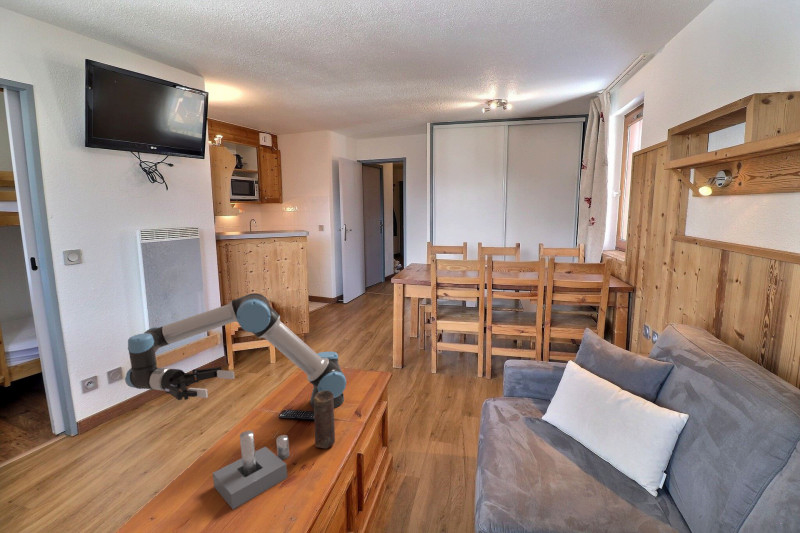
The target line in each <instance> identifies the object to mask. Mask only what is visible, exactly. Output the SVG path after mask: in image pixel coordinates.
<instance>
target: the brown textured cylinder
mask: <svg viewBox="0 0 800 533" xmlns="http://www.w3.org/2000/svg"><path fill="white" fill-rule="evenodd" d="M313 414H314V417H313V418H314V421H313V422H314V445H315V447H317V448H320V449H321V448H322V449H328V448H330V447H331V446H333V445H334V444H335V442H336V430H335V408H334V401H333V393H332V392H330V391H320V392H318V393H317V394H316V395H315V397H314V408H313Z"/></svg>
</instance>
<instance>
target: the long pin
mask: <svg viewBox="0 0 800 533" xmlns="http://www.w3.org/2000/svg"><path fill="white" fill-rule="evenodd" d="M239 442H240V451H241V453H240V454H241V458H242V464H243V475H244V477H247V476H249V475H251V474H253V473H254V472H256V471H257V469H256V458H255V451H256V450H255V449H256V448H255V447H256V446H255V437H254V432H253V431H252V430H245V431H243V432H241V433H240V434H239Z"/></svg>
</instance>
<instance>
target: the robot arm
mask: <svg viewBox="0 0 800 533" xmlns="http://www.w3.org/2000/svg"><path fill="white" fill-rule="evenodd" d="M236 322H237V323H238V325H239V327H240V328H241V329H243V330H244V331H245V332H248V333H252V334H253V335H254V336H255V337H256V338H259V339H261V338H264V339H265V340H267V342H269V343H270V344H271V345H272V346H273V347H275V348H276V349H277V350H278V351H279V352H280V353H281V354H282V355H284V357H286V358H287V359H288V360H290V361H291V362H292V363H293V364H294V365H295V366H296V367H298V368H299V369H300V370H301V371H302V372H304V374H306V376H307V377H306V378H307V379H306V380H307V381H308V382H309V383H310V384H311V385H313V387H312V388H313V389H312V392H311V396H310V405H311V407H312V408H313V409H314V397H315V395H316V394H317V393H318V392H320V391H330V392H332V393H333V401H334V409H335V408H337V407H340V406H341V405H342V404H343V403H344V401H345V395H344V391H345V389H346V386H347V378H346V376H345V374H344V373H343V370H342V368H341V366H340V365H339V354H338V353H337V352H335V351H321V352H318V353H317V352H316V351H314V350H313V348H311V347H310V346H309V345H308V344H306V342H305V341H303V339H301V338H300V337H299V336H298V335H297V334H296V333H294V332H293V331H292V330H291V329H290V328H289V327H287V325H286V324H284V323H283V322H282V321H281V315H280V314H279V313H278V312H277V311H276V310H275V309H274V308H273V307H271V305H270V302H269V299H267V297H266V296H265V295H263V294H260V293H256V292H255V293H254V292H253V293H248V294H246V295H243V296H240V297H238V298H235V299H232V300H230V302H229V303H228V304H226V305H223V306H220V307H216V308H214V309H210V310H207V311H205V312H204V311H203V312H202V313H199V314H196V315H192V316H188V317H186V318H183V319H181V320H177V321H174V322H172V323H169V324H166V325H163V326H159V327H156V326H155V327H154V326H153V327H152V328H149V329H147V330H146V331H145V332H143V333H138V334H135V335H133V336H132V335H131V336H130V337H129V338H128V339H127V350H128V356H129V361H130V366H131V367H130V368H129V369H128V371H127V372H126V374H125V378H124V379H125V380H124V381H125V383H126V385H127V386H128V387H130V388H133V389H134V388H135V389H137V390H143V389H144V390H154V391H155V390H156V391H162V392H163V391H165V394H169V395H171V396H172V397H174V398H175V399H176V400H177V401H182V400H183V399H184V400H188V399H189V398H191V397H192V398H203V399H207V398H208V397H209V395H208V388H198V387H190V386H191V385H193V384H195V383H196V384H197V383H199V382H200V381H205V380H208V379H214V378H217V379H224V380H226V379H227V380H235V378H236V377H235V371H233V370H224V369H222V367H221V366H218V367H217V366H215V367H208V368H200V369H198V368H197V369H192V372H187V373H186V372H185V371H184V370H182V369H179V368H168V367H158V365H157V356H156V352H157V351H158V350H159V349H160V348H163V347H166V346H168V345H171V344H174V343H177V342H180V341H182V340H186V339H189V338H191V337H195V336H196V335H200V334H203V333H206V332H208V331H211V330H215V329H216V328H220V327H223V326H227V325H228V324H232V323H236ZM195 378H196V379H195ZM188 387H189V388H188Z"/></svg>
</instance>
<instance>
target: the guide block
mask: <svg viewBox="0 0 800 533" xmlns="http://www.w3.org/2000/svg"><path fill="white" fill-rule="evenodd" d="M255 458H256V469H257V471H256V472H254V473H253V474H251V475H249V476H247V477H244V475H243V464H242V457H241V458H239V459H237V460H236V461H234V462H232V463H230V464H228V465H226V466H224V467H222V468H220V469H218V470H216V471H213V472H212V481H213V488H214V489H215V490H216V491H217V492H218V493H219V495H220V496H221V498H223V500H224V501H225V503H227V505H229V507H230V508H231V509H232V510H235V509H237V508H238V507H240V506H241V505H243V504H245V503H247V502H249V501H250V500H252V499H254V498H256V497H257V496H259V495H260V494H263V493H264V492H265V491H267V490H269V489H271V488H272V487H274V486H277V484H279V483H281V482H282V481H284V480H286V479H287V478H288V468H287V467H288V466H287V463H286V462H285V461H284V460H281V459H280V458H279V457H278V455H276V454H275V453H274V452H273V451H271V450H270V449H269V448H268V447H266V446H263V447H261V448H260V449H257V450H255Z"/></svg>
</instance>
